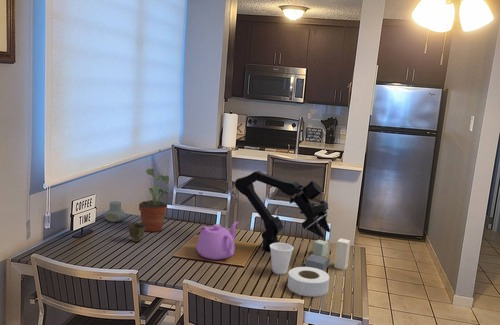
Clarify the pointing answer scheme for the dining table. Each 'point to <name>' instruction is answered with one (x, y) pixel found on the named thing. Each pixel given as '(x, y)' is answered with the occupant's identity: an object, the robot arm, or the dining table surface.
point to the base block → (317, 262)
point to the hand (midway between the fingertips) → (326, 234)
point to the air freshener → (115, 212)
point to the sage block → (320, 248)
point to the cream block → (342, 254)
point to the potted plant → (154, 207)
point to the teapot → (216, 242)
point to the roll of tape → (308, 281)
